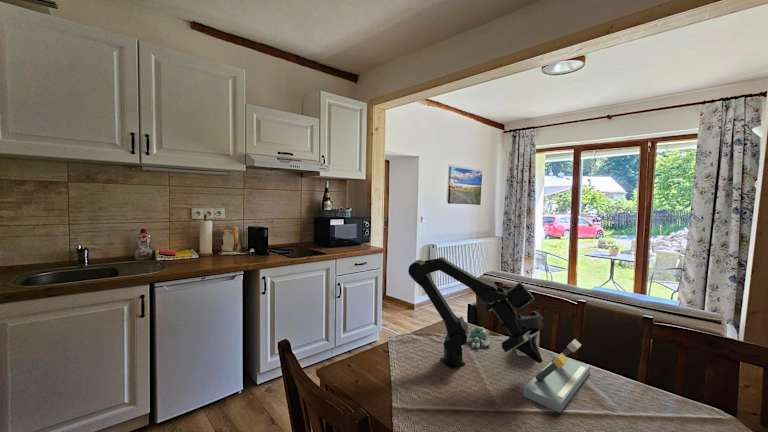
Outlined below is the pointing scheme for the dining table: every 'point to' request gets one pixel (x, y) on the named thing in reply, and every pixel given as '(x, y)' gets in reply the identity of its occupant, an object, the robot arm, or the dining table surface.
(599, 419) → the dining table surface
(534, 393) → the switch panel
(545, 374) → the lever
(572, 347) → the on lever
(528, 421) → the dining table surface
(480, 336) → the stuffed animal
